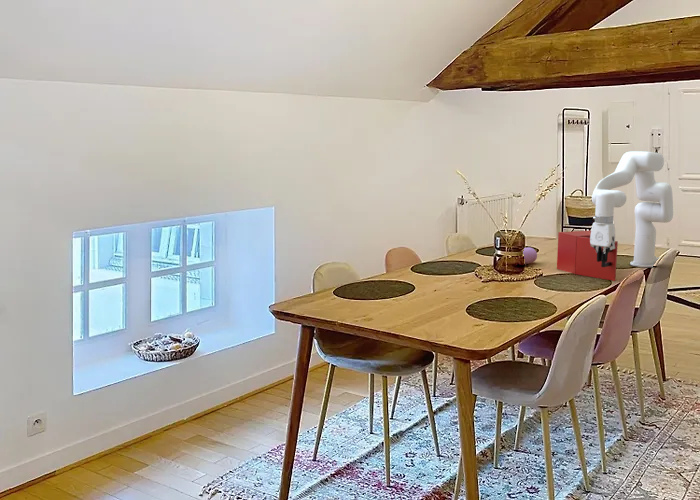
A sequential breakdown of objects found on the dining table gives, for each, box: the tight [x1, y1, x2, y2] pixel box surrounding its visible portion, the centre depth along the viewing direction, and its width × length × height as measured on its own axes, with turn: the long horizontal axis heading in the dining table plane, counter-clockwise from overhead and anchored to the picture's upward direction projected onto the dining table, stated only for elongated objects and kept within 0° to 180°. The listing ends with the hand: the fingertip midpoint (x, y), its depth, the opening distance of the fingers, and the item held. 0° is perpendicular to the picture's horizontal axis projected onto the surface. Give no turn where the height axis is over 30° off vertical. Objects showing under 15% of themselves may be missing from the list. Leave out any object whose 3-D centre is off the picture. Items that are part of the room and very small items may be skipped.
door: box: [574, 237, 619, 282], centre depth 321 cm, size 7×20×18 cm, turn 39°
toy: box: [523, 247, 538, 265], centre depth 356 cm, size 8×9×20 cm
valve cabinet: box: [556, 230, 591, 275], centre depth 341 cm, size 14×20×18 cm
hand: (601, 261), depth 312 cm, fingers closed on door
